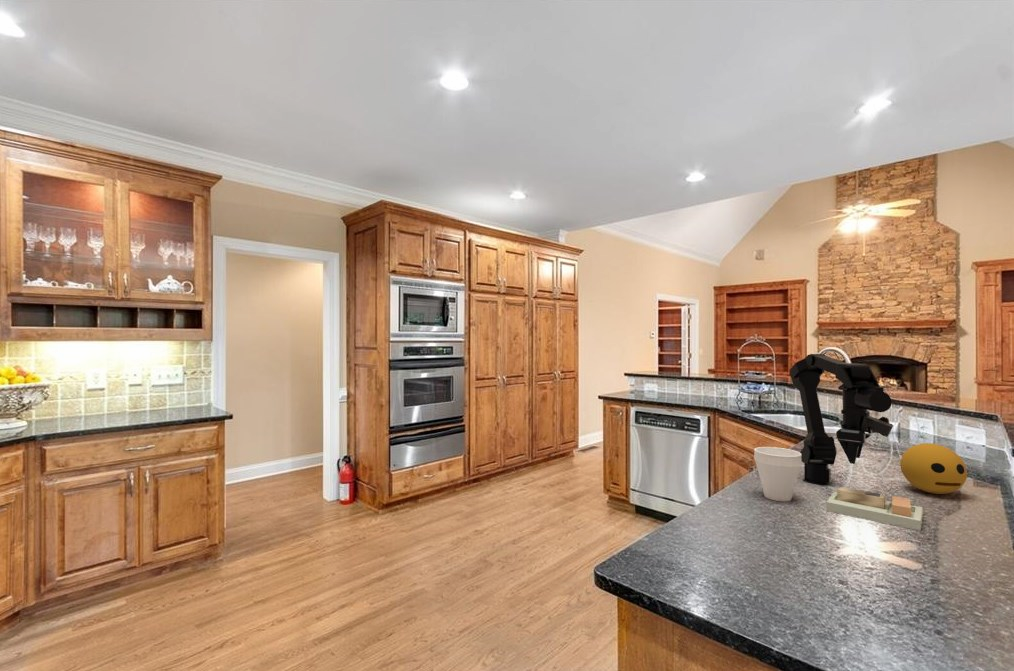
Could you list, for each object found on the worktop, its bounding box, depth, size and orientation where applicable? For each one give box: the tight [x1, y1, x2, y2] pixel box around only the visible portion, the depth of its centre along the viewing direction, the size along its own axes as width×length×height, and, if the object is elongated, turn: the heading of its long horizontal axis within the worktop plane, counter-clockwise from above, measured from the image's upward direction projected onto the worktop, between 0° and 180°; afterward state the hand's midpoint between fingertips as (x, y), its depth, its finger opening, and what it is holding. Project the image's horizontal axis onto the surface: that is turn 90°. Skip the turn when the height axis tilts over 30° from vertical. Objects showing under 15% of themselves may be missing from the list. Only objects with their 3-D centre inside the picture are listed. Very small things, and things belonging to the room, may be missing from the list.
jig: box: [826, 490, 924, 532], centre depth 122 cm, size 19×13×2 cm
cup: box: [753, 446, 803, 502], centre depth 135 cm, size 12×12×14 cm
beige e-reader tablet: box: [837, 486, 886, 509], centre depth 124 cm, size 10×4×4 cm, turn 46°
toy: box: [899, 442, 968, 495], centre depth 140 cm, size 15×15×15 cm
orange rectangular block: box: [891, 495, 911, 517], centre depth 118 cm, size 4×9×4 cm, turn 140°
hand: (854, 460), depth 132 cm, fingers open, 9 cm apart
